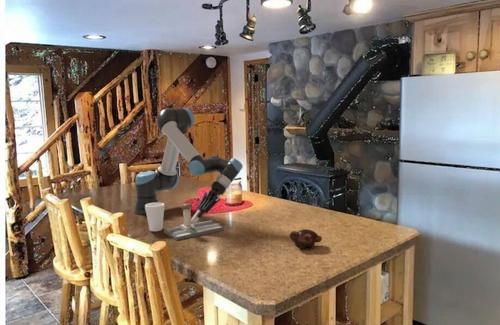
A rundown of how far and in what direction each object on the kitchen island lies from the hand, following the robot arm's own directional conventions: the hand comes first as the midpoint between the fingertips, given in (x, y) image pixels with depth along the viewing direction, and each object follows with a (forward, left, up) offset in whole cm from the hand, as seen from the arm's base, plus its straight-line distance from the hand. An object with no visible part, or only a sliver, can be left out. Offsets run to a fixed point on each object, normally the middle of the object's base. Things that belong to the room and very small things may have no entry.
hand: (192, 222), depth 203 cm
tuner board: (0, -1, -5) cm, 5 cm away
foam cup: (-15, -14, -5) cm, 21 cm away
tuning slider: (+2, -3, -3) cm, 5 cm away
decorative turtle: (+50, +29, -5) cm, 58 cm away
